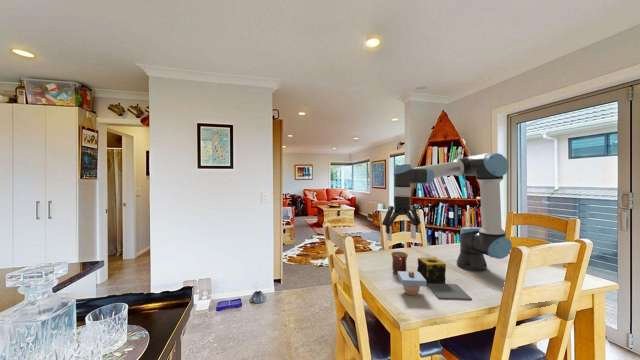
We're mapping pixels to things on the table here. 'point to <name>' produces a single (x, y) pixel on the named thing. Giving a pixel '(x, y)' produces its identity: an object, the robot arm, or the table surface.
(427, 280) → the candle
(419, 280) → the lid
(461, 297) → the mat
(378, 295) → the table surface
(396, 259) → the mug
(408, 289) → the bowl
